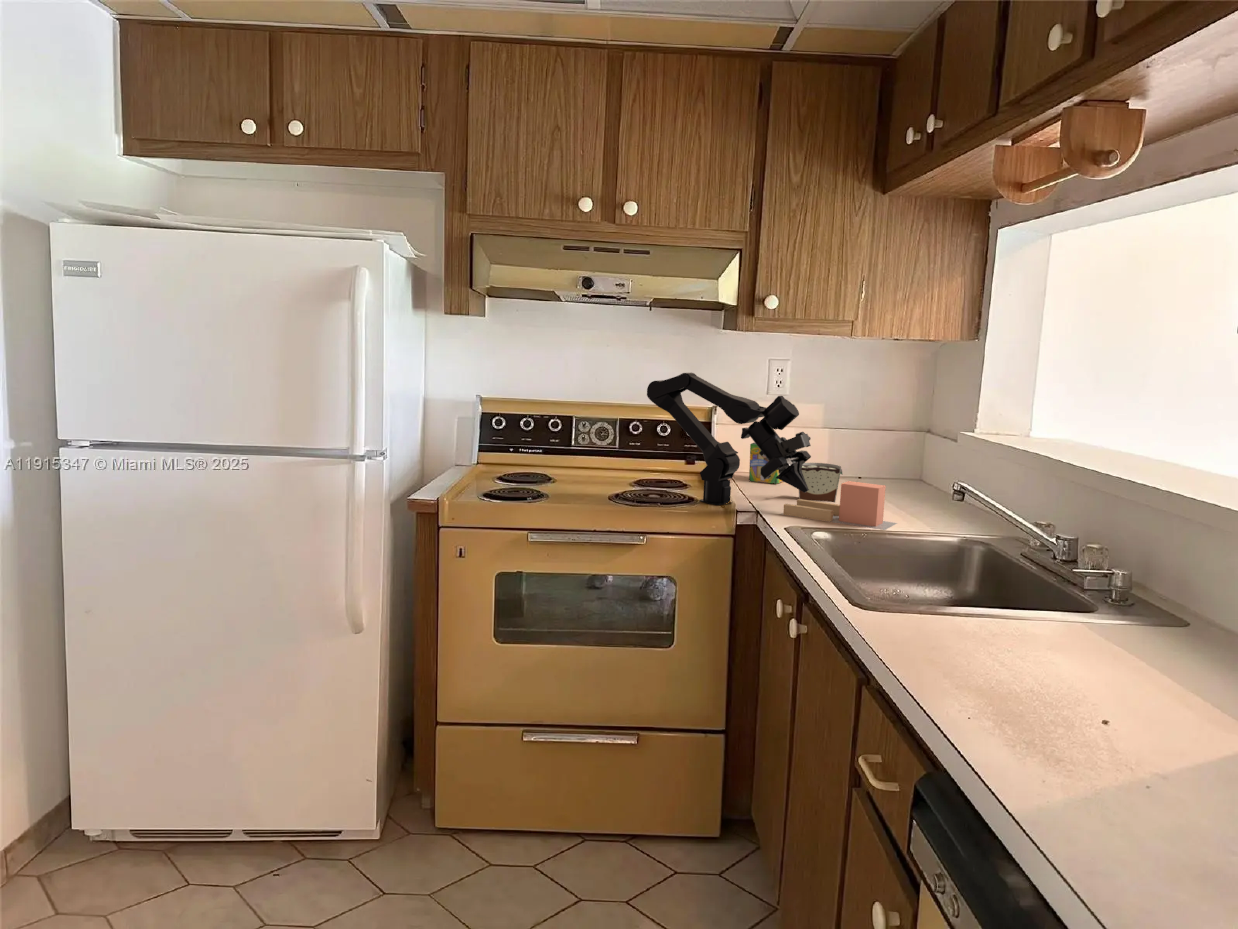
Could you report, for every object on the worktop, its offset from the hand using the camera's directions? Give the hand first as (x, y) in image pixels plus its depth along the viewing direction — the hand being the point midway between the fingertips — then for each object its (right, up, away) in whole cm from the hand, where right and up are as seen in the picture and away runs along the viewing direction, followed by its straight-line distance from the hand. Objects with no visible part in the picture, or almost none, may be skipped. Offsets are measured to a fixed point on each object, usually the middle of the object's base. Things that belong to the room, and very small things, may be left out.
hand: (806, 491), depth 221 cm
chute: (+7, -7, -4) cm, 10 cm away
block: (+11, -7, -7) cm, 15 cm away
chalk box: (-1, +1, +51) cm, 51 cm away
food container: (+7, -3, +22) cm, 23 cm away
